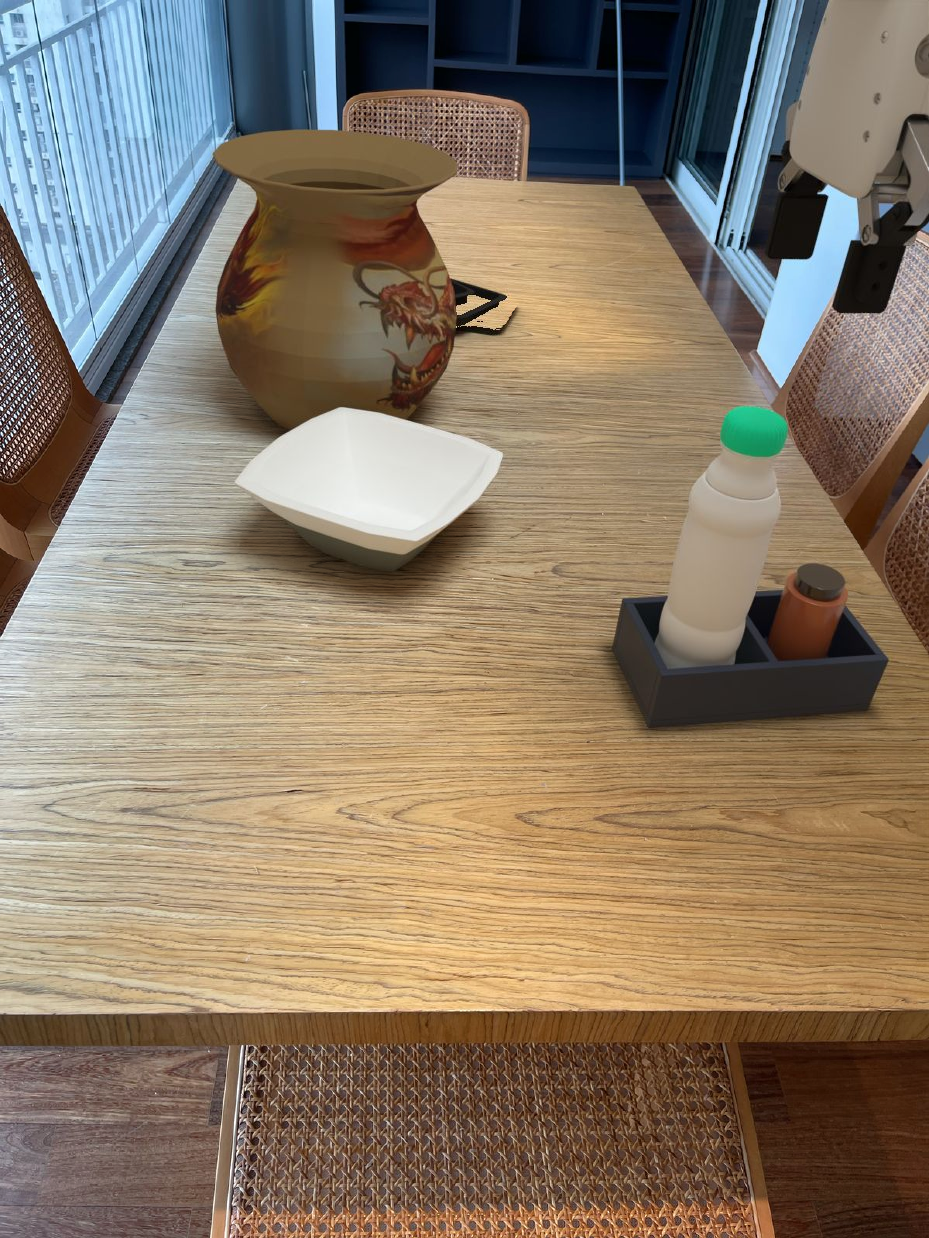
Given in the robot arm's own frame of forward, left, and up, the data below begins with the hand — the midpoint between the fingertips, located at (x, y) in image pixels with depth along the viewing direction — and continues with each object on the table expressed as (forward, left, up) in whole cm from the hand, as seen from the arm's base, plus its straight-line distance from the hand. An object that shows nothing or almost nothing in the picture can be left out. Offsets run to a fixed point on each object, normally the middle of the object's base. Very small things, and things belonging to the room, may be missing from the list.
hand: (820, 283), depth 62 cm
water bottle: (-1, -5, -37) cm, 37 cm away
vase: (+25, -62, -38) cm, 77 cm away
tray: (+9, -94, -38) cm, 102 cm away
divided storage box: (-6, -5, -38) cm, 39 cm away
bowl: (+24, -31, -38) cm, 55 cm away
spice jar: (-11, -5, -37) cm, 39 cm away
